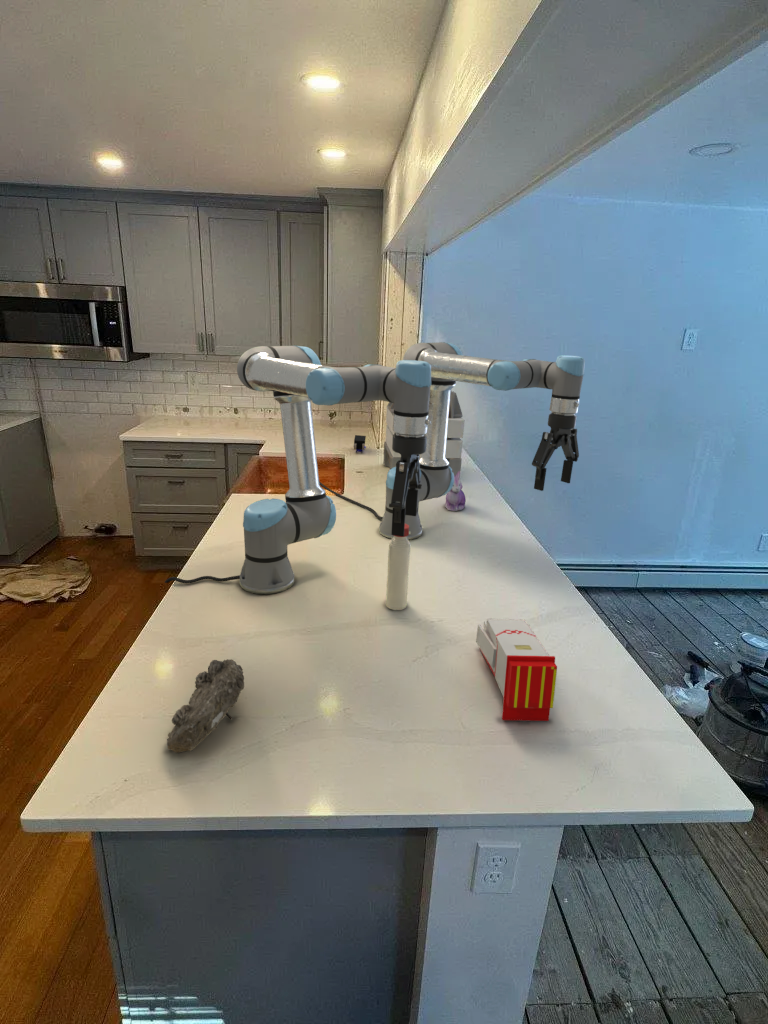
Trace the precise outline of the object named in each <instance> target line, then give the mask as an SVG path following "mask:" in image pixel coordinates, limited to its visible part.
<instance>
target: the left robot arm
mask: <svg viewBox="0 0 768 1024" xmlns="http://www.w3.org/2000/svg"><path fill="white" fill-rule="evenodd" d="M236 373H237V377H238V379H239V380H240V381H239V382H241V383H242V385H243V386H244V387H245V388H248V389H249V390H251V391H256V392H263V393H264V392H265V393H266V392H272V394H273V395H272V396H273V399H274V400H275V401H276V402H278V403H279V407H280V417H281V424H282V433H283V443H284V444H283V445H284V451H285V452H284V453H285V460H286V471H287V478H288V486H289V487H288V490H287V491H286V493H285V494H284V498H285V500H283V499H280V498H265V499H260V500H256V501H254V502H252V503H250V504H249V505H248V506H247V507H246V508H245V509H244V511H243V521H242V527H243V537H244V538H243V539H244V540H243V541H244V542H243V543H244V561H243V564H242V567H241V571H240V574H239V575H232V576H227V577H216V576H211V575H203V576H199V577H195V578H192V579H184V578H183V579H182V578H179V577H177V576H170V577H168V578H167V579H166V580H165V581H164V583H165V584H169V583H170V582H178V583H181V584H187V585H189V584H194V583H197V582H200V581H206V580H210V581H215V582H219V583H220V582H221V583H223V582H229V581H235V580H239V586H240V588H241V589H243V590H244V591H246V592H248V593H252V594H257V595H273V594H278V593H281V592H282V593H283V592H284V591H286V590H288V589H290V588H291V587H292V586H293V585H294V584H295V572H294V570H293V567H292V564H291V561H290V558H289V556H288V555H289V554H288V546H289V545H291V544H296V543H299V542H300V543H301V542H303V541H307V540H311V539H318V538H320V537H322V536H325V535H328V534H330V532H332V530H333V529H334V527H335V525H336V520H337V509H336V505H335V504H334V501H333V499H332V497H330V496H329V495H327V491H326V489H325V488H324V487H322V486H321V485H320V484H319V482H320V476H319V467H318V456H317V447H316V437H315V427H314V418H313V409H312V404H314V405H317V406H333V405H341V404H351V403H352V404H353V403H363V402H364V403H365V402H366V403H367V402H376V401H378V402H379V401H381V402H387V403H389V402H391V403H394V417H393V432H395V434H394V435H393V439H392V450H393V451H394V452H396V453H399V454H401V458H400V460H398V461H397V463H396V473H395V480H394V486H393V493H392V499H391V504H390V503H389V507H391V508H393V514H392V534H391V535H396V536H404V530H405V515H410V516H416V515H417V500H418V490H417V489H421V488H422V485H421V484H420V482H421V481H420V459H419V457H420V454H423V453H425V451H426V444H427V437H426V435H424V434H426V433H427V426H428V425H430V423H431V422H430V420H427V418H428V414H429V400H430V389H431V383H432V382H431V366H430V364H429V363H428V362H425V361H416V360H403V359H401V360H398V361H397V362H396V365H395V367H391V366H386V365H383V364H379V363H377V364H373V363H372V364H371V363H369V364H365V365H363V366H351V367H345V366H344V367H340V366H339V367H337V366H336V367H335V366H330V365H329V366H328V365H322V362H321V361H320V358H319V357H318V355H317V353H316V352H315V351H314V349H311V348H310V347H308V346H302V345H297V344H296V345H260V346H254V347H251V348H250V349H249V348H248V350H246V351H244V352H243V353H242V355H240V357H239V358H238V361H237V364H236ZM408 488H410V489H408ZM397 502H400V503H397ZM405 502H406V506H405Z"/></svg>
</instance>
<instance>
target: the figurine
mask: <svg viewBox="0 0 768 1024" xmlns="http://www.w3.org/2000/svg"><path fill="white" fill-rule="evenodd" d="M452 473H453V472H452ZM461 475H462V470H461V471H458V473H457V474H456V476H454V484H453V487H452V489H451V490H450V491H449V492H448V493H447V494H445V504H444V507H445V508H446V510H448V511H451V512H452V511H453V512H457V511H462V510H463V509H465V505H466V503H467V502H466V496H465V492H464V491H463V490H462V489H463V483H462V481H461Z"/></svg>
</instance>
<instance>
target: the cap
mask: <svg viewBox="0 0 768 1024" xmlns="http://www.w3.org/2000/svg"><path fill="white" fill-rule="evenodd" d="M408 535H409V525H407V524H405V530H404V536H396V535H393V536H396V537H406V536H408Z"/></svg>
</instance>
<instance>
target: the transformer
mask: <svg viewBox="0 0 768 1024" xmlns="http://www.w3.org/2000/svg"><path fill="white" fill-rule="evenodd" d="M387 403H388V404H387V405H386V413H385V414H386V415H385V423H386V428H385V438H384V442H383V466H384V467H388V468H389V470H390V469H392V468H394V467H396V463H397V461H398V460H400V458H401V454H399V453H396V452H394V451H393V450H392V439H393V435H394V434H395V432H393V417H394V403H391V402H387ZM464 429H465V419H464V418H463V411H462V408H461V405H460V402H459V398H458V395H457V392H455V391H453V390H451V392H450V404H449V416H448V428H447V441H446V453H445V458H446V459H447V461H448V462H449V466H450V467H451V469H452V472H453V473H454V476H456V474H457V473H458V471H461V472H462V461H463V460H462V453H463V442H464V441H463V440H462V439H463V438H464V431H465V430H464ZM420 457H421V454H420ZM420 457H419V458H420Z"/></svg>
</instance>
